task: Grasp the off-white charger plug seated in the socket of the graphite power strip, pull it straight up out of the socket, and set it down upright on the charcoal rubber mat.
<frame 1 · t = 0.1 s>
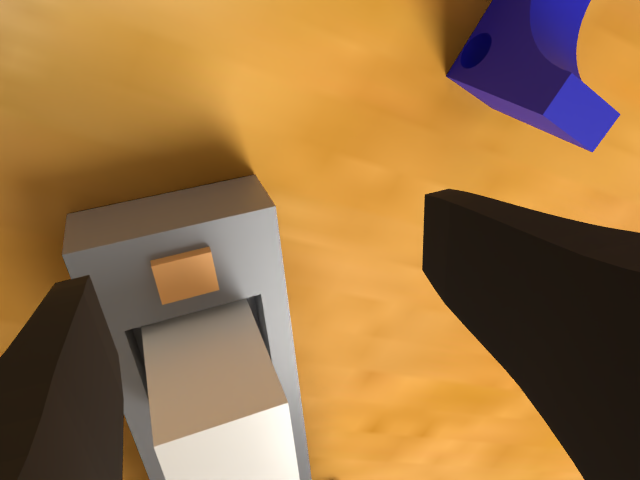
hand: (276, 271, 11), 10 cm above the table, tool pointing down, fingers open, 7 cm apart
charger plug: (199, 330, 22), point 1 cm above the table, touching power strip
power strip: (208, 366, 25), on the table
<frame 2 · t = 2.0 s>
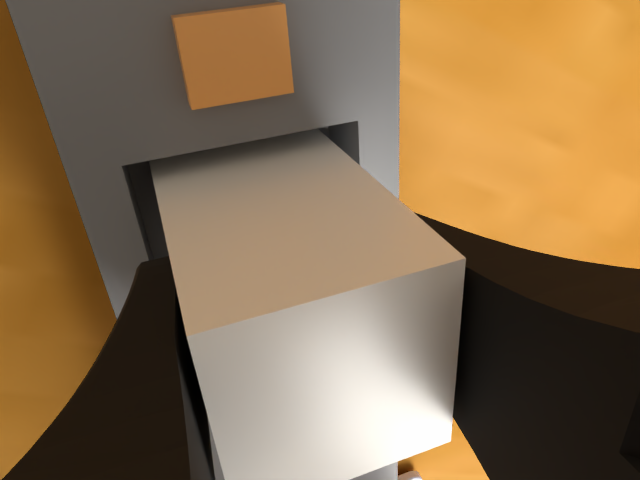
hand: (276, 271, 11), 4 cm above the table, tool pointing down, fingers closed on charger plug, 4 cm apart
charger plug: (243, 208, 14), point 1 cm above the table, touching gripper, power strip
power strip: (250, 281, 16), on the table
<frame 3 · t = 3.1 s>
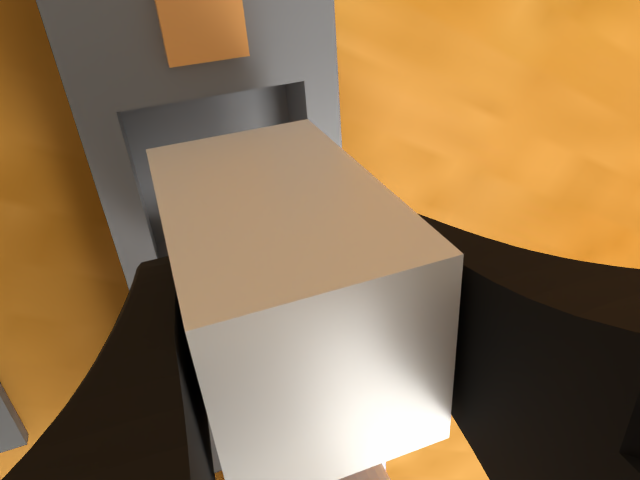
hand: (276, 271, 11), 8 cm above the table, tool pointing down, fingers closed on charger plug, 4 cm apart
charger plug: (242, 206, 14), point 5 cm above the table, touching gripper
power strip: (226, 225, 19), on the table
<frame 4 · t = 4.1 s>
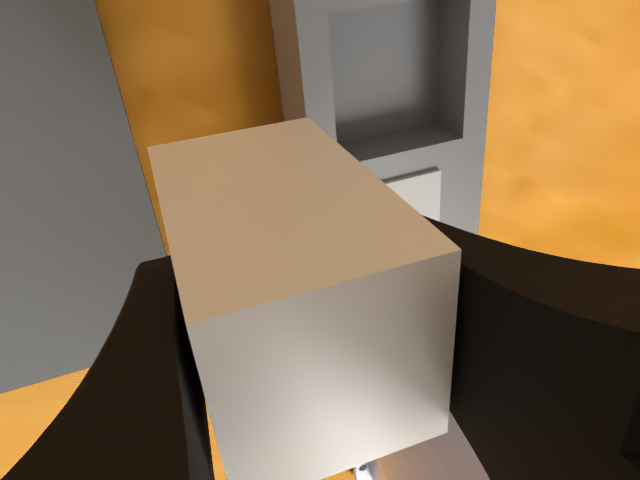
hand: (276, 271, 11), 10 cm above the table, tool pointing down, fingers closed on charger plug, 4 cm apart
rubber mat: (1, 219, 18), on the table
charger plug: (242, 204, 14), point 7 cm above the table, touching gripper
power strip: (369, 139, 22), on the table
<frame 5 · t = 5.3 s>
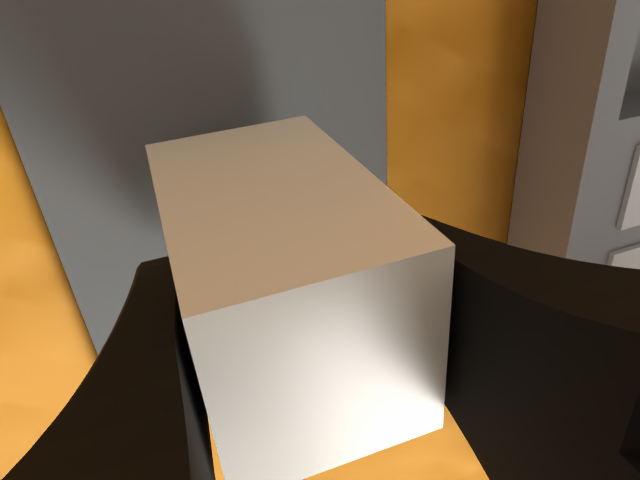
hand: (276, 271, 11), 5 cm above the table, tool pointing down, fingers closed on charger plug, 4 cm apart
rubber mat: (227, 176, 16), on the table
charger plug: (240, 202, 14), point 2 cm above the table, touching gripper
power strip: (603, 98, 19), on the table
when the fingers open (5 cm above the table, at t = 6.2 s): charger plug drops 1 cm, resting on rubber mat.
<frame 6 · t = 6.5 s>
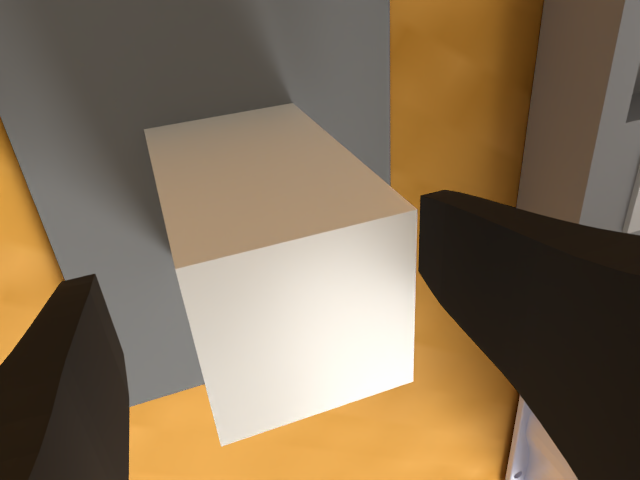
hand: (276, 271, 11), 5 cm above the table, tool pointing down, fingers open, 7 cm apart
rubber mat: (228, 180, 15), on the table
charger plug: (232, 184, 15), resting on rubber mat
power strip: (609, 100, 19), on the table
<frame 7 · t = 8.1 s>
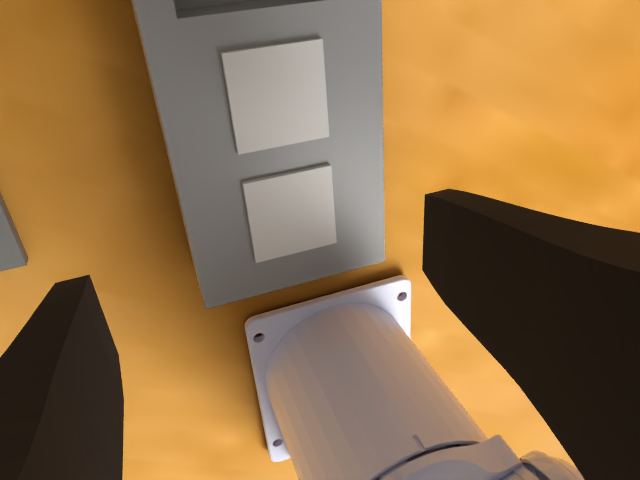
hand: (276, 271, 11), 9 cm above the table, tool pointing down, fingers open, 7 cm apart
power strip: (246, 14, 17), on the table
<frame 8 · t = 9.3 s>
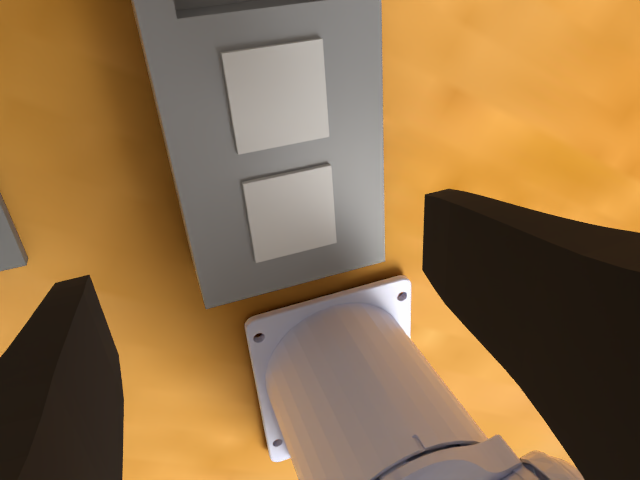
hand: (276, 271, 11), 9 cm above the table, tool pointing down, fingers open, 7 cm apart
power strip: (246, 14, 17), on the table
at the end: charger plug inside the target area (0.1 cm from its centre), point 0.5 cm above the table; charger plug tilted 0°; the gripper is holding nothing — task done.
